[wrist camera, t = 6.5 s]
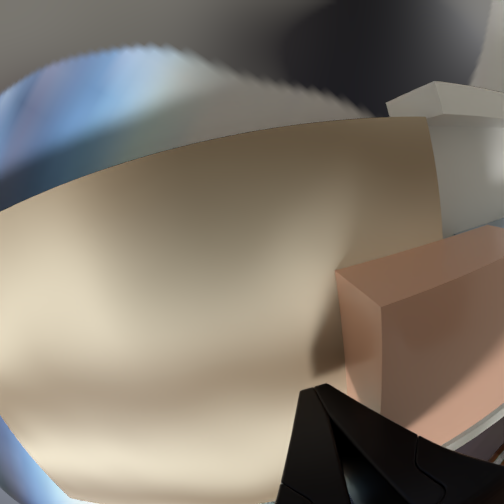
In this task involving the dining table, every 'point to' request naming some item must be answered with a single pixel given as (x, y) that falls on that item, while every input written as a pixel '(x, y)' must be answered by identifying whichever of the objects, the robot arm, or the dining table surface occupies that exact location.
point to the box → (463, 167)
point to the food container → (498, 456)
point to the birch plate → (197, 303)
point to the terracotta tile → (428, 333)
